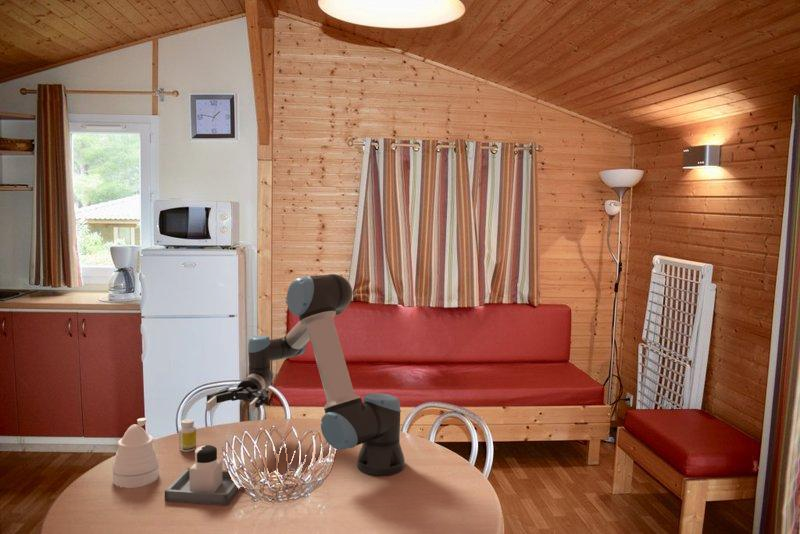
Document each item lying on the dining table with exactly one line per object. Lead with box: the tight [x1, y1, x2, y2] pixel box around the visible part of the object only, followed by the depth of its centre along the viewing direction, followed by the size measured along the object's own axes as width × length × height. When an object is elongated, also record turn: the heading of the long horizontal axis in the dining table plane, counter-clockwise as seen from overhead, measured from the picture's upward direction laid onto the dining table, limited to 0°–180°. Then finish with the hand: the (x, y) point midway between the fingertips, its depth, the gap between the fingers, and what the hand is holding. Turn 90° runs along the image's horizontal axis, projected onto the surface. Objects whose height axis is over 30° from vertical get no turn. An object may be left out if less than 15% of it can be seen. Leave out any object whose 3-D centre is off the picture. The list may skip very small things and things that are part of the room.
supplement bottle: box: [178, 418, 197, 453], centre depth 211 cm, size 5×5×10 cm
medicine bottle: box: [189, 444, 223, 492], centre depth 181 cm, size 7×7×12 cm
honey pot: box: [111, 417, 160, 489], centre depth 188 cm, size 13×13×18 cm
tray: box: [164, 467, 239, 506], centre depth 182 cm, size 18×15×3 cm
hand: (228, 407), depth 192 cm, fingers open, 13 cm apart
